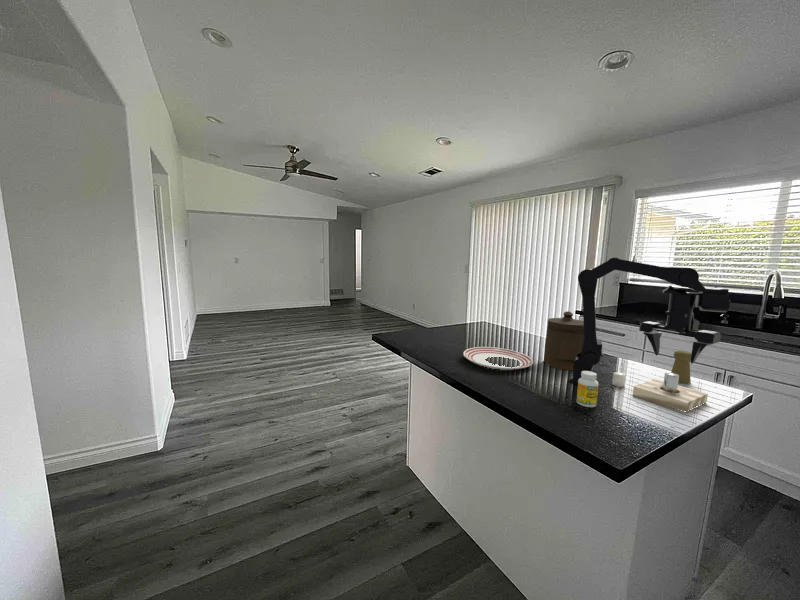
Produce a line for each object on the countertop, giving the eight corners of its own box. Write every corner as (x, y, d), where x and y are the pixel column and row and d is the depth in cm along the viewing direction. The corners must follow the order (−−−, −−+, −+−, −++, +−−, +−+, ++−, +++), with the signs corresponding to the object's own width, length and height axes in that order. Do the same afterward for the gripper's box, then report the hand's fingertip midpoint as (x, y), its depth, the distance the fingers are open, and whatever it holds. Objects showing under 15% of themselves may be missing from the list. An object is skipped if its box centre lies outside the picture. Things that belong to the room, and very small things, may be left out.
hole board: (685, 412, 97) (687, 402, 97) (632, 395, 109) (633, 386, 109) (706, 403, 104) (707, 393, 104) (654, 387, 116) (655, 378, 116)
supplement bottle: (587, 399, 105) (590, 369, 104) (600, 407, 100) (604, 375, 99) (572, 400, 104) (574, 370, 103) (585, 408, 99) (588, 376, 98)
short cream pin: (620, 387, 116) (622, 376, 115) (610, 384, 119) (611, 373, 118) (626, 385, 117) (627, 374, 117) (615, 382, 120) (617, 371, 120)
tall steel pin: (672, 402, 105) (675, 377, 103) (659, 398, 108) (662, 373, 106) (677, 400, 106) (681, 375, 105) (664, 395, 109) (668, 371, 108)
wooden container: (590, 366, 138) (595, 312, 135) (573, 373, 129) (578, 316, 126) (554, 357, 149) (558, 307, 147) (536, 363, 140) (540, 310, 137)
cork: (682, 378, 126) (686, 349, 125) (694, 384, 120) (699, 354, 119) (665, 377, 127) (668, 348, 125) (676, 383, 121) (680, 353, 119)
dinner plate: (538, 361, 144) (539, 353, 144) (524, 380, 121) (524, 371, 121) (476, 350, 159) (476, 343, 158) (452, 365, 136) (452, 357, 135)
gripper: (731, 312, 99) (724, 364, 101) (658, 303, 115) (652, 348, 117) (716, 314, 94) (708, 369, 96) (641, 305, 110) (635, 352, 112)
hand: (674, 359), depth 105 cm, fingers open, 9 cm apart
